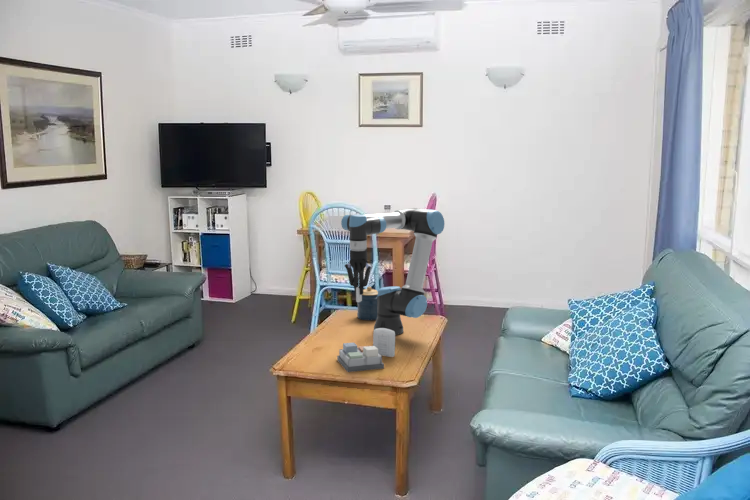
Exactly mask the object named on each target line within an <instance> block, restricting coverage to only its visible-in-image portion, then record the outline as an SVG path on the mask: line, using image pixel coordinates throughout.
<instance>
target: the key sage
mask: <svg viewBox="0 0 750 500" xmlns="http://www.w3.org/2000/svg"><path fill="white" fill-rule="evenodd" d="M348 357H349V358H350V359H355V358H362V354H361V353H360V352H350V353H348Z"/></svg>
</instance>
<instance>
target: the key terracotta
mask: <svg viewBox="0 0 750 500" xmlns="http://www.w3.org/2000/svg"><path fill="white" fill-rule="evenodd" d="M366 346H367V345H361V346H360V345H359V346H357V348H358V350H359V351H360V352H363V347H366Z"/></svg>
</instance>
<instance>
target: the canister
mask: <svg viewBox="0 0 750 500" xmlns="http://www.w3.org/2000/svg"><path fill="white" fill-rule="evenodd" d="M377 296H378V289H374V288H372V286H366V288H363V294H362V301H360V302H356V303H357V313H356V314H357V318H358V319H359V320H363V321H376V319H377Z"/></svg>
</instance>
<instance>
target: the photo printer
mask: <svg viewBox="0 0 750 500" xmlns="http://www.w3.org/2000/svg"><path fill="white" fill-rule="evenodd" d="M372 334H373V335H372V346H375V347H376V348H377V349H378V353H379V354H380V355H381V356H382V357H389V358H393V357H395V356H396V355H395V352H396V335H395V332H394V331H393V330H390V329H387V328H377V329H375V330H374V329H373V333H372Z"/></svg>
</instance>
